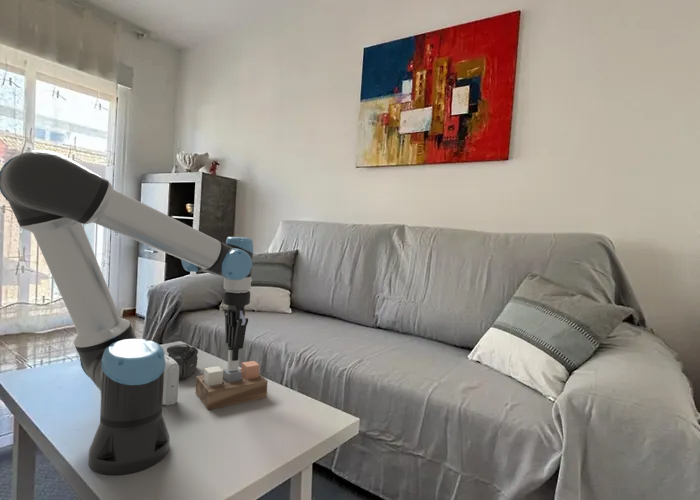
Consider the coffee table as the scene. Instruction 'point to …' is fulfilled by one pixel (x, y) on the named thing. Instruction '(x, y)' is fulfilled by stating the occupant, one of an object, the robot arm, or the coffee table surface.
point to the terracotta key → (250, 370)
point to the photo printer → (170, 381)
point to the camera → (184, 358)
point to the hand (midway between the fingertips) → (232, 369)
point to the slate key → (231, 376)
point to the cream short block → (213, 376)
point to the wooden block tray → (230, 391)
